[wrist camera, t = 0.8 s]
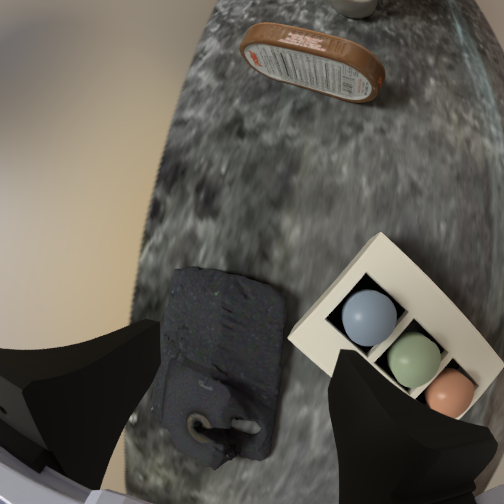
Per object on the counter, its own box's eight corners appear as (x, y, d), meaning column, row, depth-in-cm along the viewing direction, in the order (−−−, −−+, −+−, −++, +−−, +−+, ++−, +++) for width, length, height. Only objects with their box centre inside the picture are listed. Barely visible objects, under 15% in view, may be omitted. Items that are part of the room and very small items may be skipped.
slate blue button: (398, 310, 22) (407, 315, 19) (365, 346, 22) (370, 356, 19) (364, 278, 23) (369, 280, 20) (331, 316, 23) (332, 322, 20)
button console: (480, 351, 23) (505, 364, 17) (411, 426, 24) (423, 452, 19) (370, 238, 26) (380, 231, 21) (294, 325, 28) (287, 338, 22)
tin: (380, 96, 27) (391, 48, 18) (373, 117, 27) (384, 72, 19) (258, 60, 30) (239, 14, 22) (247, 79, 30) (225, 34, 22)
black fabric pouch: (314, 290, 28) (312, 294, 23) (264, 465, 28) (255, 488, 24) (173, 257, 32) (150, 256, 27) (151, 423, 32) (131, 438, 27)
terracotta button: (468, 382, 19) (481, 393, 17) (439, 414, 20) (449, 427, 17) (447, 359, 20) (459, 368, 17) (416, 392, 21) (425, 405, 18)
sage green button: (437, 349, 20) (449, 358, 18) (406, 384, 21) (414, 396, 18) (409, 321, 21) (419, 328, 19) (377, 357, 22) (383, 368, 19)
